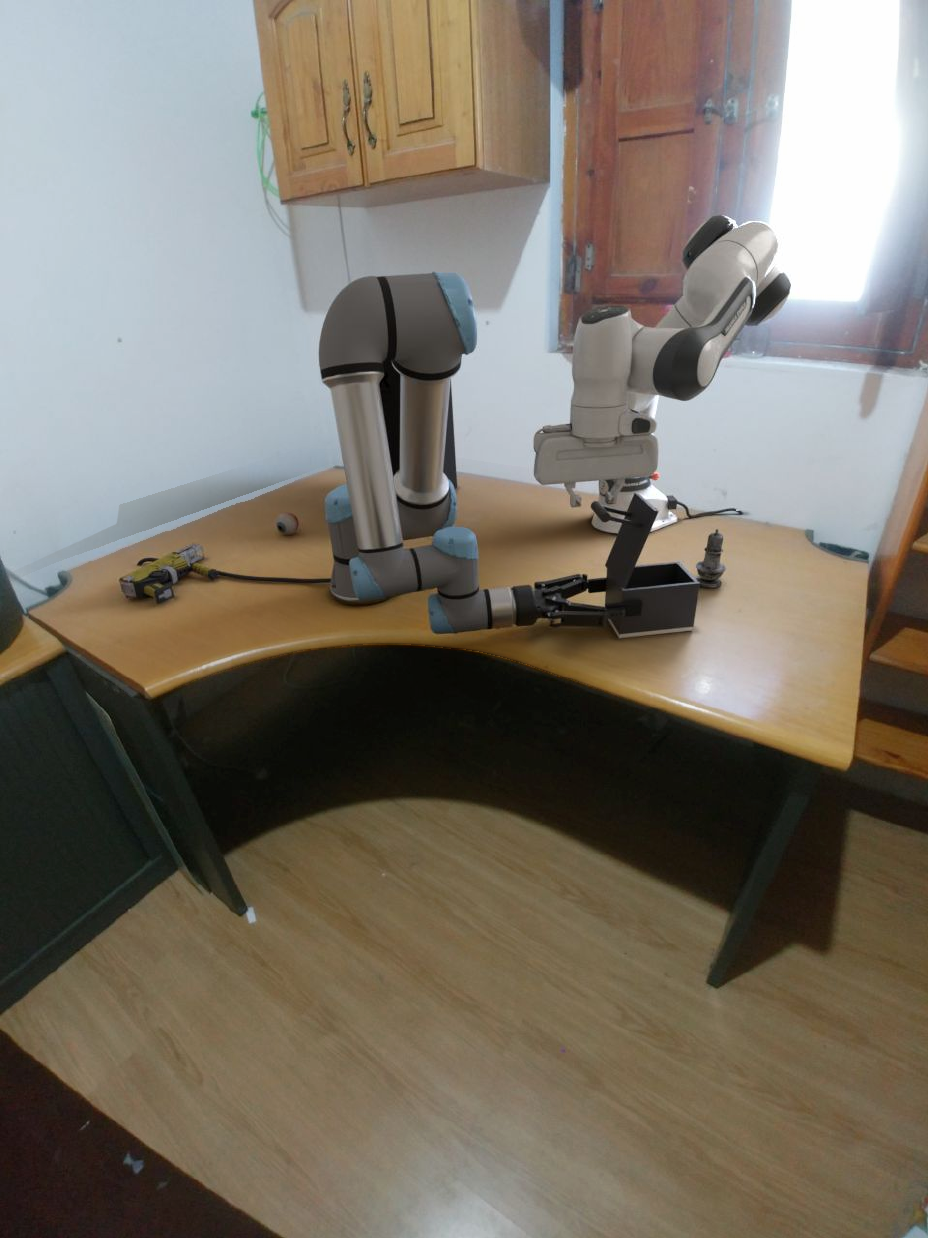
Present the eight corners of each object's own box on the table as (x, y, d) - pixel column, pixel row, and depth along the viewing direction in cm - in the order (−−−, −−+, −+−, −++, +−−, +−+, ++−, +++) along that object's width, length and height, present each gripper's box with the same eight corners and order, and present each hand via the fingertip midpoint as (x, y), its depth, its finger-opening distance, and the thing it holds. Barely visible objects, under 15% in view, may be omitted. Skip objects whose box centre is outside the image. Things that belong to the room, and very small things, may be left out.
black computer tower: (424, 530, 162) (407, 348, 139) (353, 528, 166) (326, 351, 144) (457, 486, 193) (448, 332, 171) (397, 485, 198) (380, 334, 175)
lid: (639, 493, 108) (595, 482, 106) (658, 511, 99) (611, 500, 98) (609, 566, 114) (567, 557, 112) (625, 588, 106) (580, 579, 104)
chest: (673, 606, 120) (678, 561, 115) (693, 630, 112) (700, 583, 107) (604, 613, 119) (606, 568, 114) (619, 638, 111) (622, 591, 106)
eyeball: (273, 537, 164) (268, 516, 161) (287, 528, 169) (282, 508, 166) (291, 539, 161) (286, 518, 158) (305, 530, 166) (301, 510, 163)
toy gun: (240, 551, 148) (190, 541, 152) (168, 591, 128) (113, 578, 132) (243, 568, 150) (193, 558, 154) (172, 610, 130) (117, 597, 134)
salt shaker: (725, 588, 125) (735, 534, 119) (695, 587, 126) (703, 534, 120) (720, 576, 130) (730, 523, 124) (692, 575, 131) (700, 523, 125)
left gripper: (502, 597, 122) (610, 586, 124) (524, 656, 103) (651, 642, 105) (501, 563, 118) (612, 552, 120) (524, 618, 99) (655, 605, 101)
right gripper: (538, 430, 92) (536, 516, 99) (667, 420, 94) (657, 505, 101) (529, 422, 98) (529, 503, 105) (651, 412, 99) (643, 494, 106)
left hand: (630, 594), depth 112 cm, fingers closed on chest, 9 cm apart
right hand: (592, 504), depth 103 cm, fingers open, 5 cm apart
